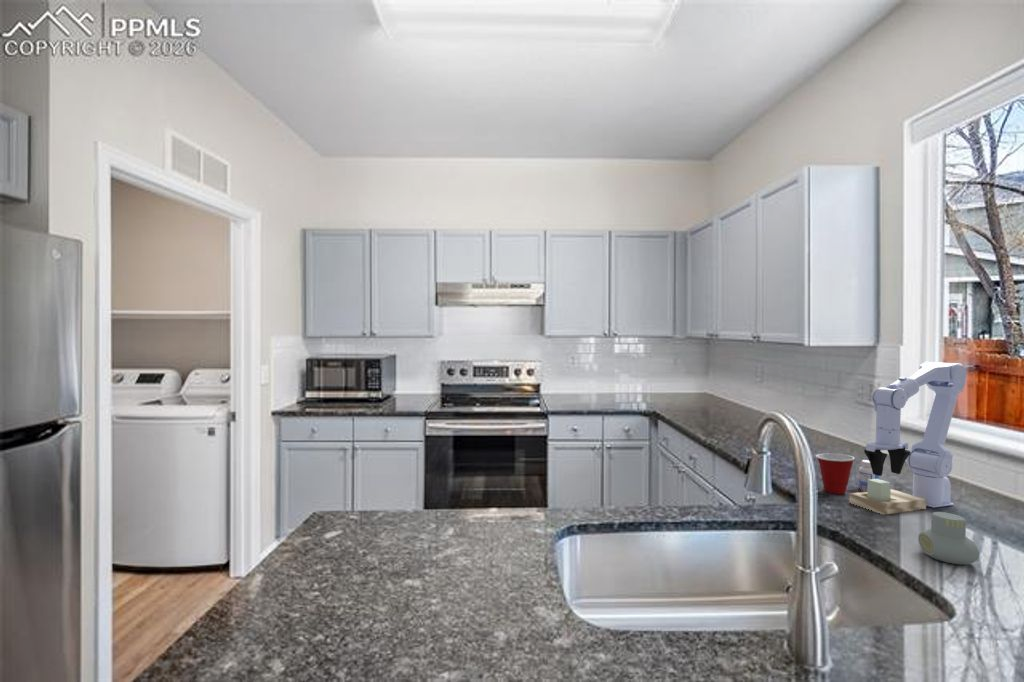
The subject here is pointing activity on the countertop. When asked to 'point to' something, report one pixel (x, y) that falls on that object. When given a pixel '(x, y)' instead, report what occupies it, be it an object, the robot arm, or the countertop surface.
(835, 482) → the plastic cup
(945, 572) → the countertop surface
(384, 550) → the countertop surface
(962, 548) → the air freshener
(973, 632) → the countertop surface
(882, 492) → the square peg
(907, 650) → the countertop surface
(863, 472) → the pill bottle
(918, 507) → the socket rail
